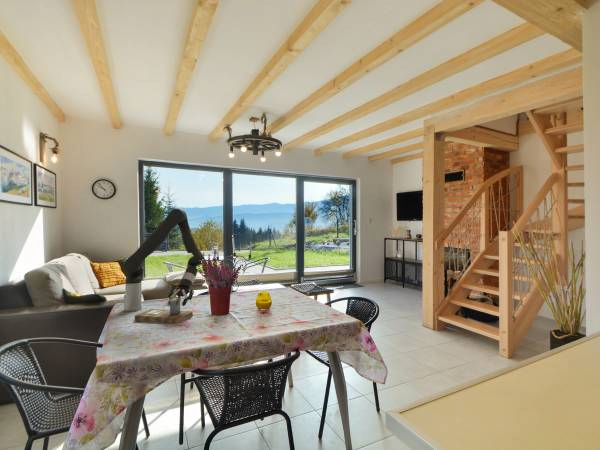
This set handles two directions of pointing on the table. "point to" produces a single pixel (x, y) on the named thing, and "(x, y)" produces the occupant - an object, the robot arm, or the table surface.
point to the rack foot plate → (163, 316)
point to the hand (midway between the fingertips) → (176, 305)
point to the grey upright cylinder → (175, 306)
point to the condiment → (176, 288)
